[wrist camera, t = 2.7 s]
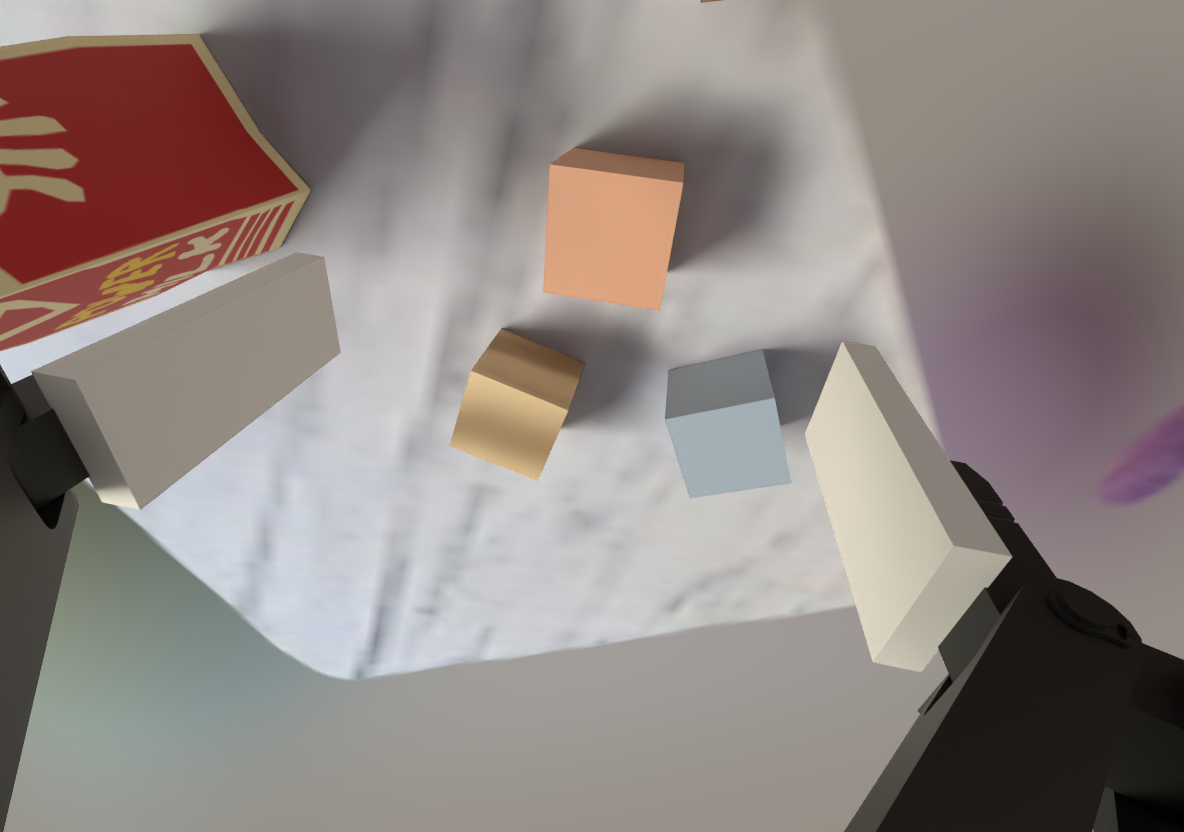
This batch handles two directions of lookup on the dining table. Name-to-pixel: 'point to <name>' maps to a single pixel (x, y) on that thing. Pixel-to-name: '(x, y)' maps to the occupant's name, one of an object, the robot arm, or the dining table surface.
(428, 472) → the dining table surface
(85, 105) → the milk carton
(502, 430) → the oak cube
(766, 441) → the slate blue cube
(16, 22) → the dining table surface
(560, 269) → the terracotta cube
